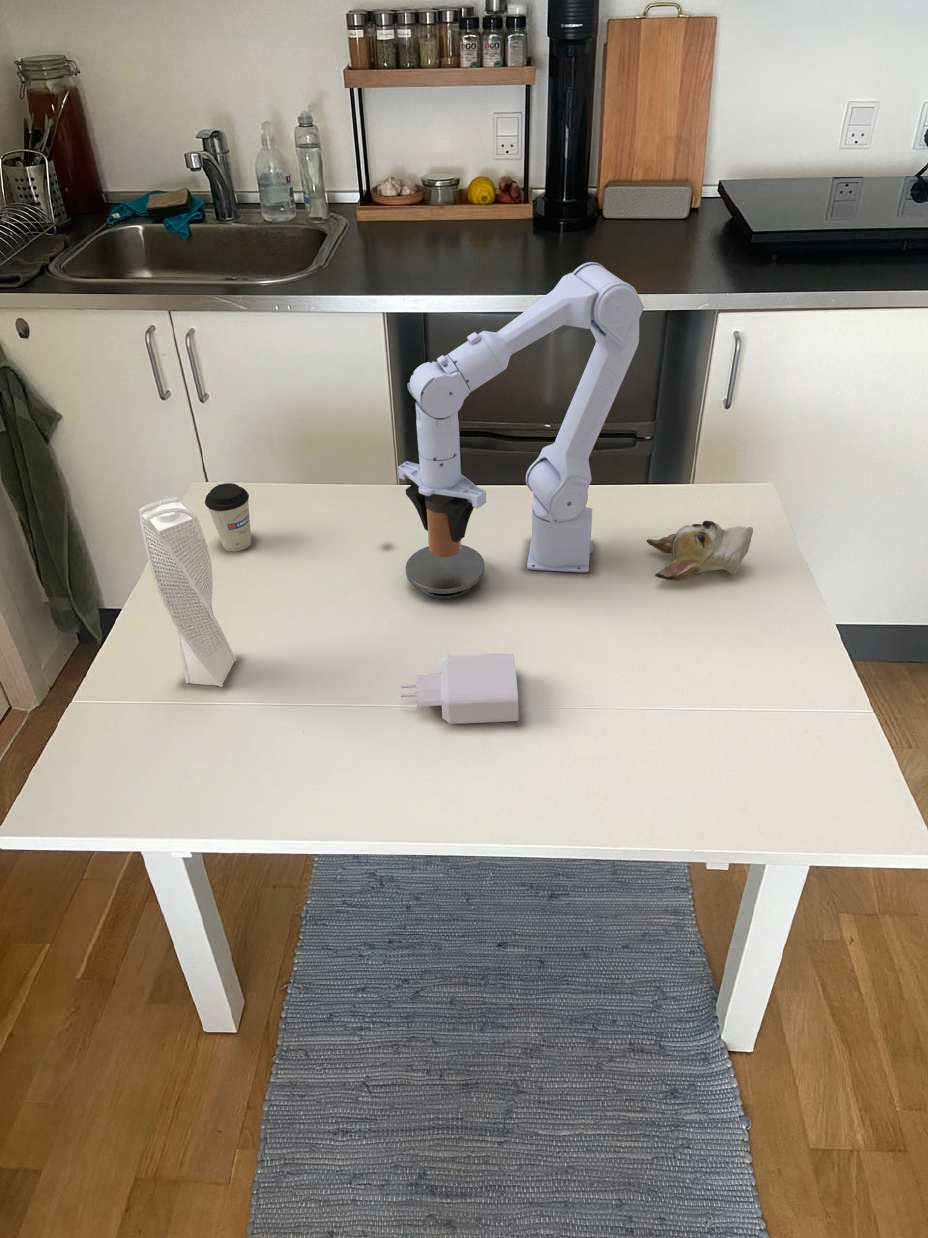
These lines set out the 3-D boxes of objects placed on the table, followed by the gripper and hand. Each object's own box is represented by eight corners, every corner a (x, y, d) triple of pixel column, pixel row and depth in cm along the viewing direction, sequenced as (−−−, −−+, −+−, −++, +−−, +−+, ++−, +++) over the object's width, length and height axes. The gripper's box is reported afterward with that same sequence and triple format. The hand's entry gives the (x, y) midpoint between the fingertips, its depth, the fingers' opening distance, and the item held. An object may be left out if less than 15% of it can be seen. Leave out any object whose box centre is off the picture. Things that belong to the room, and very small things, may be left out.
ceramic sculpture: (762, 538, 134) (656, 545, 135) (756, 587, 139) (654, 593, 140) (746, 499, 142) (646, 506, 143) (741, 546, 147) (645, 553, 148)
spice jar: (464, 539, 140) (461, 487, 135) (459, 558, 137) (456, 505, 131) (431, 537, 141) (428, 486, 135) (426, 556, 137) (422, 504, 132)
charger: (403, 680, 126) (514, 675, 126) (401, 729, 119) (518, 724, 119) (400, 654, 123) (514, 649, 123) (398, 703, 116) (518, 697, 116)
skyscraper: (226, 695, 125) (178, 518, 108) (174, 690, 127) (118, 515, 109) (246, 656, 132) (203, 483, 114) (196, 652, 133) (146, 480, 115)
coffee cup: (207, 545, 154) (193, 493, 147) (240, 526, 158) (229, 475, 151) (233, 560, 150) (220, 507, 144) (267, 541, 154) (256, 488, 148)
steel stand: (489, 560, 147) (489, 545, 145) (479, 608, 138) (479, 591, 136) (415, 556, 149) (413, 541, 147) (400, 603, 140) (398, 587, 138)
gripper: (380, 447, 130) (389, 529, 139) (462, 478, 123) (466, 562, 131) (413, 427, 134) (420, 508, 143) (494, 456, 127) (496, 539, 136)
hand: (444, 532), depth 137 cm, fingers closed on spice jar, 5 cm apart
